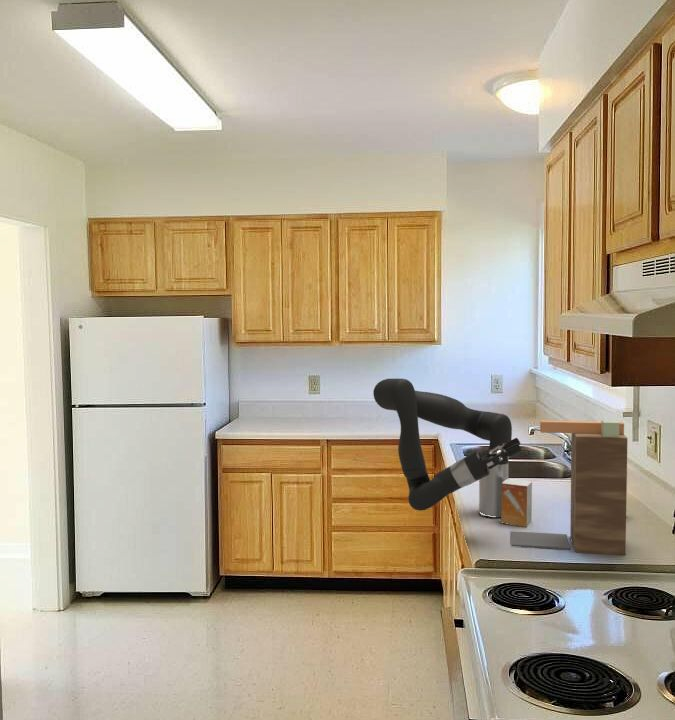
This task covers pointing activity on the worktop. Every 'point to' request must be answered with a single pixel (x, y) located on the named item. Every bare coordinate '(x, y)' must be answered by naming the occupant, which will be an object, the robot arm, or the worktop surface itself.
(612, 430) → the sage block
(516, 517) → the small box
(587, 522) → the stand
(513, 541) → the mat
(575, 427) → the brown block
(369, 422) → the worktop surface
